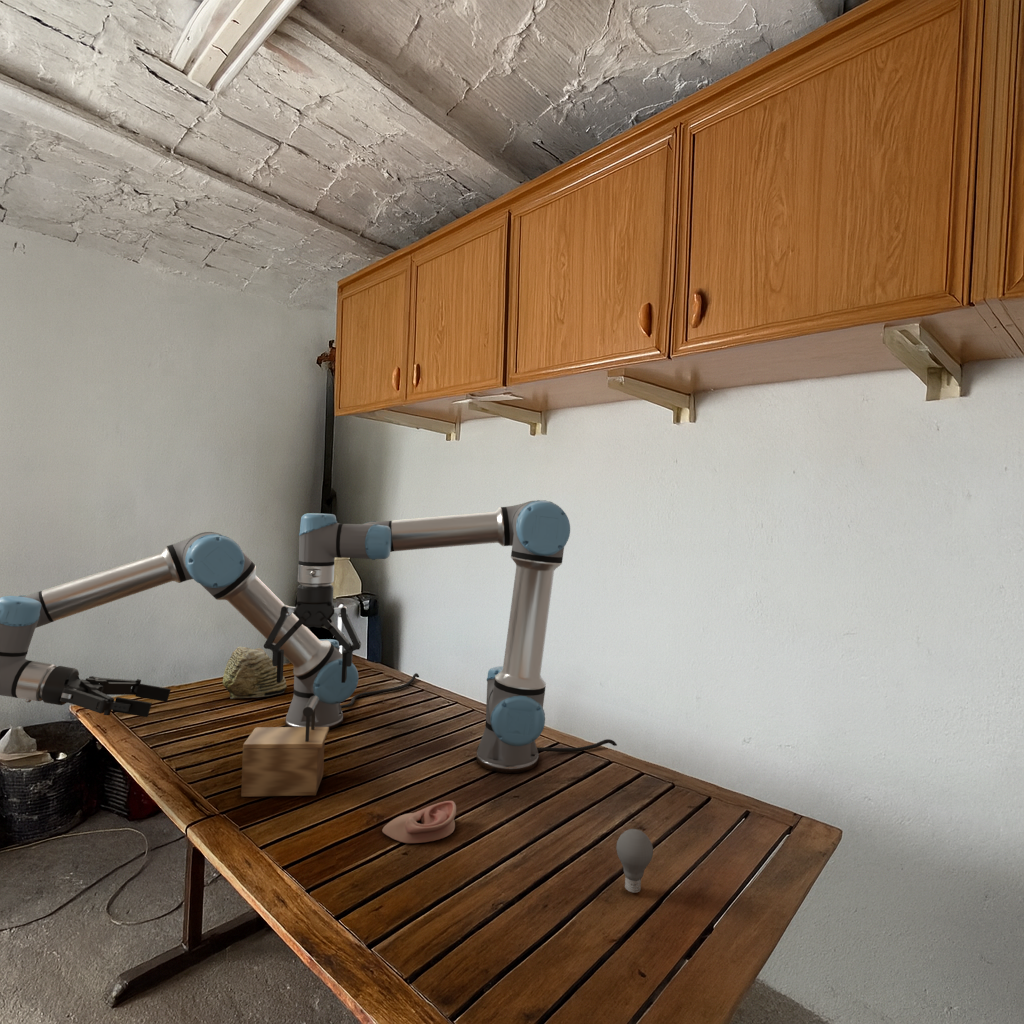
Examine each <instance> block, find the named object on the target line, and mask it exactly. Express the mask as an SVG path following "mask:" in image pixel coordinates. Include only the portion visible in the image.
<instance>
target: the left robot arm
mask: <svg viewBox="0 0 1024 1024" xmlns="http://www.w3.org/2000/svg"><path fill="white" fill-rule="evenodd" d="M190 580H194V581H195V582H196V583H198V584H200V585H201V586H202V587H203V588H204V589H205V590H206V591H207V592H208V593H209V594H210V595H211V596H212V597H213V599H215V600H217V601H226V602H228V603H229V604H230V605H231V606H232V607H233V608H234V609H235V610H236V611H237V612H238V613H239V614H241V616H242V617H244V619H245V620H247V621H248V622H249V624H250V625H252V626H253V628H254V629H256V630H257V631H258V632H259V633H260V634H261V635H262V636H263V637H264V638H265V639H266V640H267V639H268V637H269V635H270V633H271V632H272V630H273V628H274V626H275V624H276V623H277V621H278V619H279V617H280V613H281V608H282V607H283V606H284V605H286V604H285V603H284V602H283V601H282V600H281V599H280V598H279V597H278V596H277V595H276V594H275V592H273V591H272V590H271V589H270V587H268V586H267V585H266V584H265V582H263V581H262V580H261V579H260V578H259V577H258V575H257V566H256V564H255V563H254V562H253V561H252V559H251V558H249V557H248V556H247V555H246V554H245V553H244V552H243V550H242V548H241V546H240V545H239V544H238V543H237V542H236V541H235V540H234V539H232V538H230V537H228V536H227V535H223V534H221V533H218V532H215V531H205V532H199V533H197V534H195V535H192V536H190V537H187V538H186V539H182V540H180V541H178V542H175V543H172V544H169V545H166V546H164V548H163V549H162V551H160V552H158V553H155V554H151V555H149V556H145V557H143V558H139V559H136V560H133V561H130V562H126V563H124V564H121V565H117V566H114V567H110V568H108V569H105V570H102V571H99V572H95V573H92V574H89V575H86V576H83V577H80V578H79V577H78V578H76V579H73V580H71V581H70V580H69V581H67V582H63V583H61V584H58V585H55V586H52V587H48V588H45V589H42V590H40V591H39V590H38V591H36V592H33V593H30V594H26V595H23V594H22V595H4V596H1V597H0V696H4V697H9V698H15V699H21V700H22V699H24V700H25V702H26V703H31V702H32V701H35V702H42V701H43V703H45V704H50V705H57V706H64V705H66V704H71V705H74V706H77V707H80V708H82V709H86V710H89V711H92V712H95V713H98V714H103V715H104V716H110V715H111V712H114V713H119V714H125V715H131V716H138V717H143V718H148V717H149V714H150V711H151V708H152V704H153V703H152V702H148V701H143V700H137V699H131V698H126V697H120V696H135V697H136V698H142V699H147V700H153V701H158V702H159V701H160V702H165V703H167V702H168V700H169V697H170V694H171V690H172V689H171V688H167V687H161V686H155V685H150V684H145V683H142V680H141V679H139V678H137V679H121V678H108V677H100V676H99V677H98V676H94V675H91V676H89V677H86V678H85V679H81V678H80V672H79V670H78V669H77V668H75V667H69V666H65V665H64V666H63V665H58V666H57V665H56V664H54V663H48V662H43V661H35V660H30V659H26V658H27V655H28V652H29V648H30V645H31V642H32V639H33V637H34V634H35V631H36V628H39V627H43V626H45V625H49V624H51V623H54V622H56V621H59V620H61V619H62V620H63V619H65V618H68V617H72V616H73V615H76V614H80V613H83V612H85V611H88V610H92V609H95V608H97V607H101V606H103V605H106V604H109V603H112V602H115V601H119V600H121V599H124V598H127V597H130V596H132V595H136V594H139V593H142V592H145V591H147V590H150V589H153V588H156V587H159V586H163V585H165V584H168V583H172V582H176V583H177V584H181V583H183V582H187V581H190ZM298 620H299V619H298V617H297V616H296V615H295V613H294V612H292V614H291V615H290V616H287V619H286V620H285V622H284V624H283V626H282V628H281V629H280V631H279V633H278V635H277V636H276V638H275V640H274V642H273V643H275V644H277V643H278V641H279V640H280V639H281V638H282V637H283V636H284V635H285V634H286V633H287V632H288V631H289V630H290V629H291V628H292V626H293V625H294V624H295V623H296V622H297V621H298ZM340 648H341V647H340V643H339V642H338V640H337V639H331V638H329V639H328V638H326V639H325V638H324V639H319V638H318V637H317V636H316V635H315V634H314V633H313V632H312V631H311V629H310V628H309V627H306V626H304V625H303V624H302V625H301V626H300V627H299V628H298V629H297V630H296V632H295V633H294V634H293V635H292V636H291V637H290V638H289V639H288V640H287V641H286V642H285V643H284V644H283V645H282V647H281V648H280V649H284V658H285V659H287V661H289V663H290V664H292V665H293V669H292V673H293V695H292V696H293V697H292V699H291V702H290V704H289V708H288V711H287V713H286V715H285V727H306V716H304V715H303V710H304V708H305V706H306V704H307V702H308V701H309V699H310V697H312V696H317V697H318V698H319V703H318V705H317V707H316V709H315V727H329V730H332V729H335V728H337V727H339V726H340V725H342V723H343V722H344V714H343V709H347V708H350V707H352V706H353V705H354V704H355V701H356V699H359V698H361V697H365V696H372V695H377V694H383V693H389V692H396V691H400V690H402V689H404V688H406V687H408V686H409V685H411V684H412V683H414V681H415V679H416V678H420V675H419V673H417V672H416V673H414V674H413V675H412V677H411V679H410V680H409V681H407V682H406V683H404V684H401V685H399V686H394V687H390V688H383V689H382V688H381V689H378V690H372V691H365V692H360V693H357V694H355V695H354V696H353V697H351V696H352V695H353V694H354V693H355V691H356V689H357V687H358V684H359V679H360V678H359V672H358V669H357V667H356V665H355V663H354V662H352V664H351V666H350V667H347V679H346V682H345V683H341V681H342V656H343V653H341V652H340ZM119 695H120V696H119ZM112 696H116V697H115V698H114V697H112ZM350 697H351V700H350V702H349V703H346V704H345V703H344V704H341V703H342V702H345V701H347V700H348V699H349V698H350ZM311 716H312V715H311ZM311 716H310V727H311Z"/></svg>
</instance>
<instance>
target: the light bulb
mask: <svg viewBox="0 0 1024 1024" xmlns="http://www.w3.org/2000/svg"><path fill="white" fill-rule="evenodd" d="M615 849H616V854H617V857H618V859H619V861H620V863H621V865H622V867H623V873H624V874H623V875H624V876H625V878H624V888H625V890H627V891H628V892H630V893H634V894H635V893H639V892H640V891H641V889H642V887H641V886H642V879H643V877H644V875H645V871H646V868H647V867H648V866H649V864H650V863H651V861H652V859H653V855H654V847H653V843H652V841H651V838H649V836H648V835H647V834H646V833H645V832H643V831H642V830H641V829H636V828H629V829H627V830H625V831H623V832H622V833H621V834H620V835H619V837H618V839H617V841H616V847H615Z"/></svg>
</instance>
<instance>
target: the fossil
mask: <svg viewBox="0 0 1024 1024" xmlns="http://www.w3.org/2000/svg"><path fill="white" fill-rule="evenodd" d="M222 676H223V677H222V685H223V687H224V688H225V690H226V691H228V693H229V698H230V699H250V698H264V697H271V696H275V695H281V694H284V693H285V691H286V689H287V687H288V686H287V680H286V678H285V676H284V675H283V679H282V681H281V682H280V683H277V666H273V664H272V658H271V657H270V656H269V655H268V654H267V653H266V652H265V650H264V649H263V648H260V647H258V648H251V647H247V646H246V647H245V646H238V647H237V648H236V649H235V650H233V651H232V653H231V656H230V657H229V659H228V660H227V663H226V666H225V668H224V671H223V675H222Z"/></svg>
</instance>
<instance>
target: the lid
mask: <svg viewBox="0 0 1024 1024" xmlns="http://www.w3.org/2000/svg"><path fill="white" fill-rule="evenodd" d="M318 703H319V698H318V697H317V696H312V697H310V699H309V701H308V702H307V704H306V706H305V708H304V710H303V715H304V716H306V727H287V726H255V728H254V729H253V730H252V731H251V733H250V734H249V736H248V737H247V738H246V740H245V741H244V742H243V744H242V749H243V748H322V746H323V743H324V741H325V742H326V738H327V736H328V733H329V731H330V729H329V727H315V709H316V707H317V705H318ZM311 715H312V716H311ZM310 716H311V727H310Z"/></svg>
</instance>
